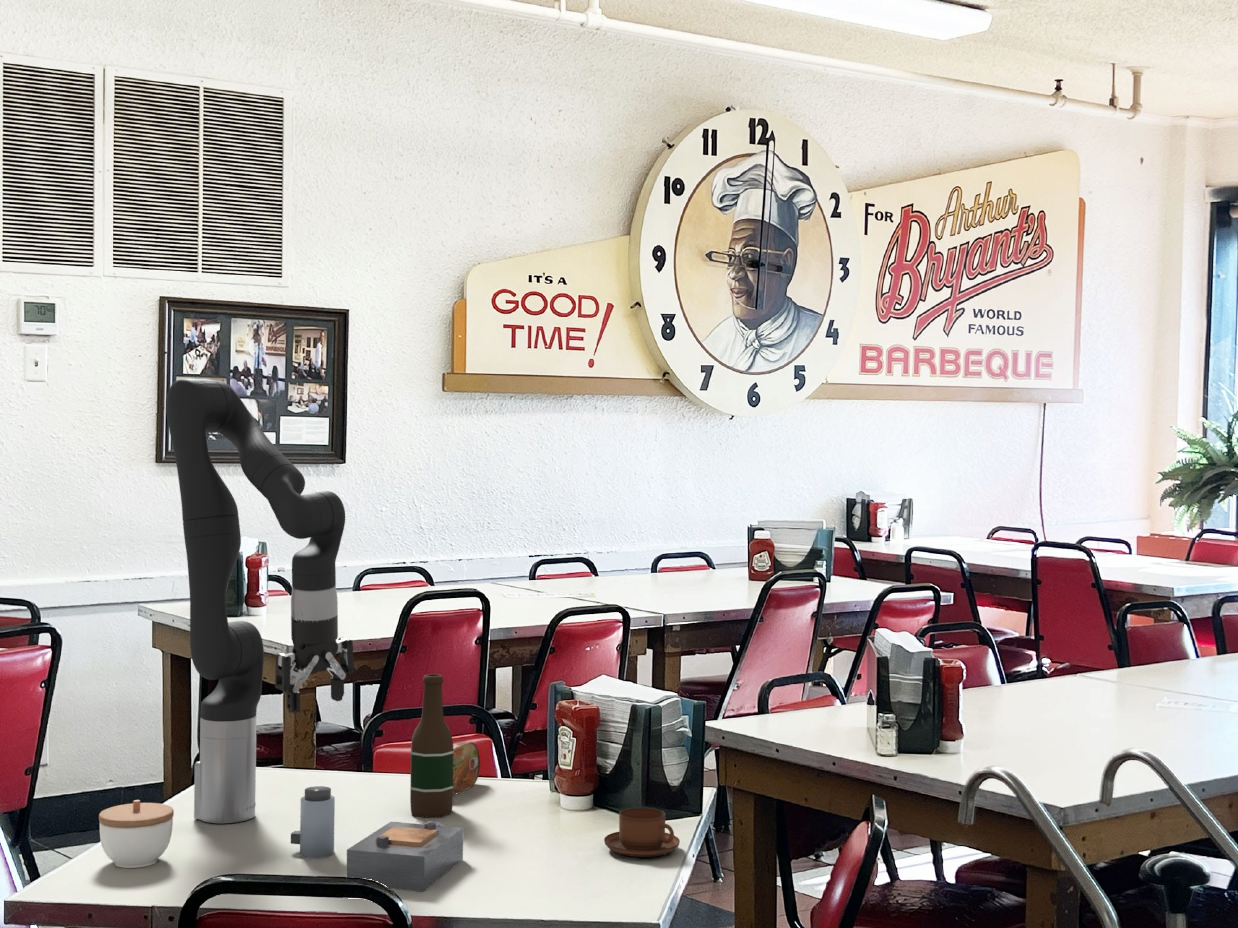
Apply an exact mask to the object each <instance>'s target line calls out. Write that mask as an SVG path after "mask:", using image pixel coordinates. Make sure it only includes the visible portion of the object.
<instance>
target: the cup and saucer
mask: <svg viewBox="0 0 1238 928" xmlns="http://www.w3.org/2000/svg"><path fill="white" fill-rule="evenodd" d="M618 817H619V818H618V819H619V821H618V824H619V825H618V826H619V827H618V828H619V831H616V832H615V831H614V832H612V833H609V834H607V835H606V836H605V837H604V841H603V842H604V844H605V846H606V847H607V848H608V849H609V850H611V851H612V852H614V853H616V854H619V855H623V856H627V857H633V858H634V857H635V858H650V857H651V858H654V857H659V856H665V855H667V854H670V853H672V852H674V851H675V850H676V849H677V848H679V845H680V842H681V841H680V838H679V837H678V836H676V835H675V831H674V829H673V827H672V826H671V825H670V824H668V823H666V813H665V811H663V810H661V809H658V808H654V807H653V808H652V807H629V808H623V809H622V810H621V811H619V813H618ZM666 830H668V831H669V833H668V832H666Z"/></svg>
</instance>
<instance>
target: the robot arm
mask: <svg viewBox="0 0 1238 928" xmlns="http://www.w3.org/2000/svg"><path fill="white" fill-rule="evenodd" d="M165 407H166V408H165V409H166V410H165V411H166V419H167V424H168V430H169V435H170V439H171V444H172V445H171V446H172V449H173V454H174V458H175V464H176V469H177V470H176V471H177V477H178V485H179V493H180V502H181V513H182V518H181V519H182V526H183V527H182V528H183V536H184V537H183V538H184V545H185V551H186V552H185V553H186V560H187V571H188V572H187V573H188V584H189V586H188V587H189V605H190V606H189V646H190V647H189V648H190V655H191V659H192V660H191V661H192V663H193V666H194V668H195V670H196V672H197V673H198V674H199V675H200V676H201V677H203V678H204V679H206V680H210V681H215V680H218V683H217V685H216V686H215V688H214V689H213V691H212V692H211V693H210V694H208V696H206V697H205V698H204V699H203V700H202V701H201V703H200V714H199V715H200V716H199V717H200V719H199V720H200V723H199V725H200V726H199V727H200V728H199V730H200V732H199V740H200V741H199V761H198V760H197V761H196V762H195V763H194V784H193V785H194V786H193V787H194V797H193V799H194V803H193V819H195V820H200V821H202V822H204V823H209V824H210V823H211V824H234V823H240V822H244V821H248V820H250V819H253V818H254V817H255V815H256V785H257V784H256V783H257V782H256V781H257V780H256V778H257V776H256V774H257V773H256V771H257V708H258V704H259V702H260V700H261V697H262V691H263V690H262V689H263V677H264V676H263V675H264V660H265V658H264V653H265V652H264V651H265V649H264V642H263V638H262V635H261V633H260V630H258V628H257V627H256V626H255V625H254V624H253V623H251V622H249V621H244V620H236V621H230V622H229V621H228V612H227V593H228V592H227V591H228V586H229V582H230V580H231V578H232V574H233V572H234V570H235V566H236V564H237V560H238V557H239V555H240V552H241V551H240V550H241V546H242V545H241V544H242V543H241V542H242V539H241V537H242V535H241V528H240V527H241V525H240V518H239V517H240V516H239V509H238V505H237V503H236V500H235V497H234V496H233V494H232V493H231V491H230V489H229V488H228V486H227V484H226V483H225V482H224V480H223V479H222V477H221V475H220V474H219V473H218V471H217V469H216V467H215V466H214V464H213V462H212V459H211V456H210V452H209V449H208V448H209V447H208V441H207V433H209V434H213V433H218V434H220V435H221V436H223V437H224V438H226V439H227V440H229V441H230V442H231V443H232V444H233V445H234V446H235V447H236V450H237V451H238V458H239V463H240V467H241V470H242V472H243V474H244V475H245V477H246V479H247V480H248V481H249V482H250V484H251V485H253V487H254V488H256V489H257V490H258V492H260V494H261V495H262V496H263V497H264V498H265V499H266V500H267V502H268V503H269V506H270V508H271V510H272V512H273V513H274V515H275V517H276V520H277V522H278V524H279V526H280V528H281V529H282V531H283V532H285V533H286V534H287V535H288V536H290V537H292V538H294V539H299V540H304V539H309V541H308V544H307V545H305V547H304V548H301V549H300V550H298V551H297V552H295V553H294V554H293V556H292V558H291V559H292V560H291V595H290V626H291V627H290V628H291V629H290V630H291V631H290V633H291V636H290V637H291V640H292V641H291V642H292V645H293V648H292V651H291V652H289V653H282V652H279V653H277V654H276V656H275V673H274V674H275V675H274V678H275V679H274V688H276V689H277V690H280V691H282V692H285V693H286V696H285V697H286V709H287V710H289V712H290V713H291V714H294V715H297V714H300V713H301V692H300V691H299V690H300V688H301V687H302V686H303V684H304V682H306V681H307V680H308V678H309V676H312V675H315V674H317V673H319V672H326V671H327V672H328V673H329V674H330V676H332V677H330V699H331V700H333V701H335V702H341V701H342V700H343V697H344V696H345V695H344V694H345V679H346V676H347V675H349V674H353V673H354V672H355V659H354V658H355V657H354V645H353V643H354V642H353V640H351V639H349V638H346V637H343V636H341V637H339V625H338V623H339V622H338V621H339V620H338V619H339V616H338V608H339V607H338V605H339V604H338V594H337V593H338V592H337V585H336V584H337V583H336V582H337V579H336V578H337V577H336V571H337V570H336V561H337V558H338V557H337V556H338V552H339V550H340V545H341V541H342V538H343V534H344V531H345V524H346V510H345V506H344V503H343V501H342V499H341V498H340V497H339V495H337V494H336V493H335V492H334V491H329V490H324V491H323V490H321V491H318V492H317V491H316V492H311V493H305V494H303V491H304V490H305V487H306V481H305V477H304V475H303V474H302V473H301V471H300V470H299V469H298V468H297V467H296V466H295V465H294V464H293V463H292V462H291V461H290V460H289V459H288V458H287V457H286V456H285V455H284V454H283V453H282V452H281V451H280V450H279V449H278V448H277V447H276V446H275V444H273V442H271V440H270V439H269V438H268V437H267V436H266V433H265V432H264V431H263V429H262V428H261V426H260V425H259V424H258V422H257V421H256V419H255V418H254V416H253V415H252V413H251V412H250V411H249V409H248V407H247V406H246V405H245V403H244V402H243V400H242V399H241V397H240V396H239V395H238V393H237V392H236V391H235V390H234V389H233V388H232V387H231V386H230V385H229V384H228V383H226V382H224V381H222V380H218V379H206V378H205V379H203V378H180V379H177V380H175V381H173V383H171V385H170V387H169V388H168V391H167V394H166V404H165ZM338 637H339V638H338ZM337 639H338V640H337ZM337 653H338V660H339V661H337V660H336V658H335V657H336V654H337ZM293 662H294V663H293ZM300 671H302V672H300Z"/></svg>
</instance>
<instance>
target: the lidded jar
mask: <svg viewBox="0 0 1238 928" xmlns="http://www.w3.org/2000/svg"><path fill="white" fill-rule="evenodd" d="M174 810H175V809H174V808H173V806H170V805H168V804H164V803H159V802H158V803H157V802H141V800H140V799H135V800H133V801H132V803H125V804H120V805H119V804H118V805H114V806H111V807H108V808H105V809H103V810H101V811H100V812H99V814H98V821H99V838H100V843H101V846H102V847H101V848H102V849H103V851H104V853H105V855H106V857H108V858H109V859H110V860H111V861H112V862H113V863H114V866H116V867H118V868H121V869H122V868H123V869H137V868H138V869H139V868H145V867H150V866H152V865H154V864H156V863H157V862H158V859H159V858H160V857H161V856H162V855H163V854H164V853H165V851H166V850H167V849H168V847H169V844H170V841H171V838H172V833H173V826H174V822H173V821H174V819H173V817H174V815H175V814H174V813H175V812H174Z"/></svg>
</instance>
